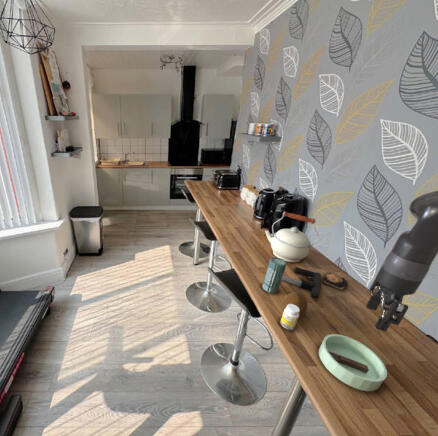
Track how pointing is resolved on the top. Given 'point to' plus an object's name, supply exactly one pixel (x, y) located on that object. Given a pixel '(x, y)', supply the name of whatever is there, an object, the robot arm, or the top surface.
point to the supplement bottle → (290, 316)
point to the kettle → (291, 240)
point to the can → (274, 275)
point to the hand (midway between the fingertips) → (375, 318)
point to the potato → (296, 302)
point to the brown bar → (349, 362)
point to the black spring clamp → (307, 285)
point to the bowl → (356, 353)
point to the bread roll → (335, 281)
